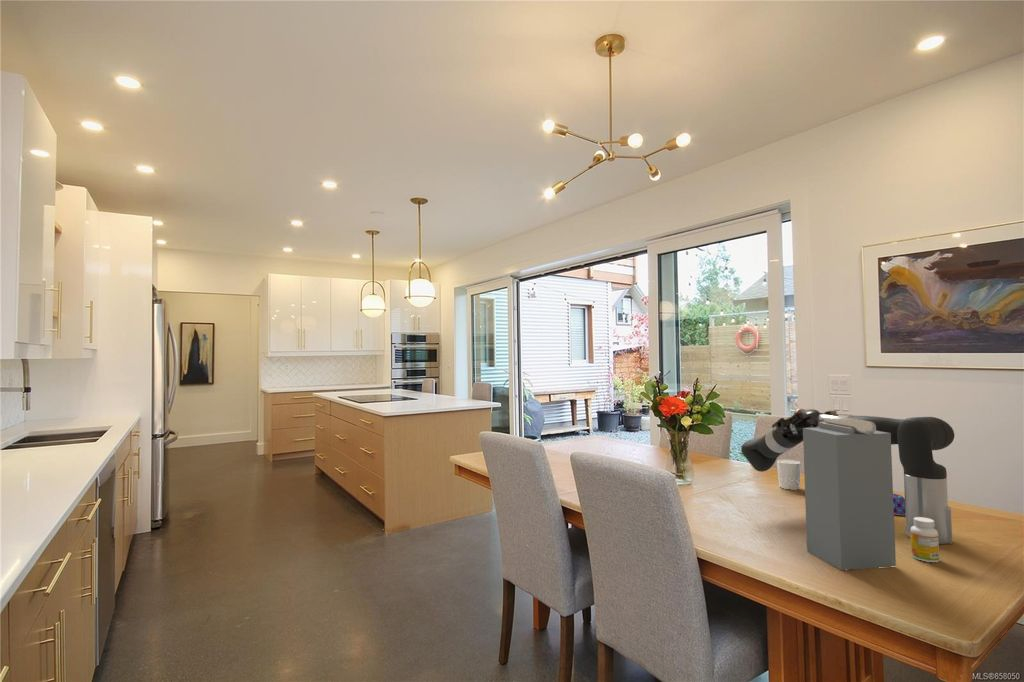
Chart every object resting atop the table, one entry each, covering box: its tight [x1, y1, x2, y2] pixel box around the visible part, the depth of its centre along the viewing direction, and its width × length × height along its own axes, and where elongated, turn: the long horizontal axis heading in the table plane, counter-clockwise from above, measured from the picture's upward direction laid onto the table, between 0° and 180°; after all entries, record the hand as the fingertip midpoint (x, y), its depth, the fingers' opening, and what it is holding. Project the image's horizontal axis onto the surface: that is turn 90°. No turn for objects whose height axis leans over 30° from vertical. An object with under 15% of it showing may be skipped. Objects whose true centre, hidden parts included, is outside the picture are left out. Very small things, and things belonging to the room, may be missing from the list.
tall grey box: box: [802, 422, 897, 571], centre depth 126 cm, size 12×14×33 cm
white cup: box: [776, 459, 801, 491], centre depth 192 cm, size 8×8×10 cm
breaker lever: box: [793, 408, 876, 434], centre depth 131 cm, size 25×4×4 cm, turn 5°
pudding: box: [893, 493, 905, 516], centre depth 163 cm, size 12×12×5 cm
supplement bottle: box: [910, 517, 940, 564], centre depth 125 cm, size 5×5×10 cm
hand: (815, 415), depth 137 cm, fingers open, 8 cm apart
